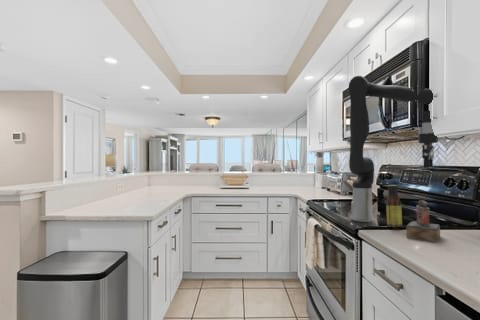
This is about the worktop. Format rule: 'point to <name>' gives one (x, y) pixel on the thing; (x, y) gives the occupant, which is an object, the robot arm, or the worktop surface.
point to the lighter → (422, 214)
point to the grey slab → (423, 232)
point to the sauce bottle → (393, 207)
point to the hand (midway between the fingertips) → (428, 167)
